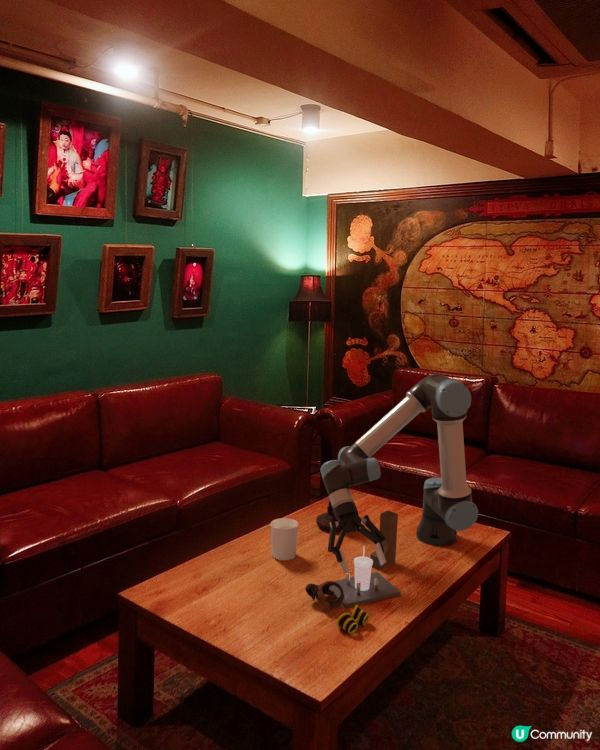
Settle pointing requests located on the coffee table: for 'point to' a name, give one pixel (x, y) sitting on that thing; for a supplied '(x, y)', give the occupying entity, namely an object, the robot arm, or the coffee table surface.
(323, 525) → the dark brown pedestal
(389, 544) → the wooden block
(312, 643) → the coffee table surface
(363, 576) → the beverage cup
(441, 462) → the robot arm
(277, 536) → the candle holder
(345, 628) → the opera glasses
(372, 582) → the cup stand
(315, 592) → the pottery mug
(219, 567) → the coffee table surface
